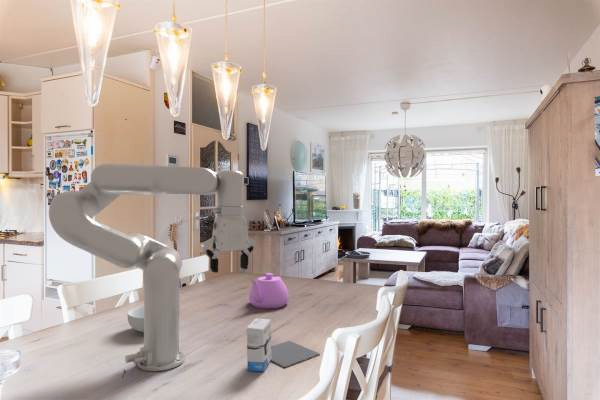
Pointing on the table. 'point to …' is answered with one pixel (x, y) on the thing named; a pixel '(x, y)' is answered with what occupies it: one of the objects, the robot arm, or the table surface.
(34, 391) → the table surface
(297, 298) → the table surface
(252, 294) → the teapot
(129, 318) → the cereal bowl
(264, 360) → the ink box
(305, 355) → the mat
